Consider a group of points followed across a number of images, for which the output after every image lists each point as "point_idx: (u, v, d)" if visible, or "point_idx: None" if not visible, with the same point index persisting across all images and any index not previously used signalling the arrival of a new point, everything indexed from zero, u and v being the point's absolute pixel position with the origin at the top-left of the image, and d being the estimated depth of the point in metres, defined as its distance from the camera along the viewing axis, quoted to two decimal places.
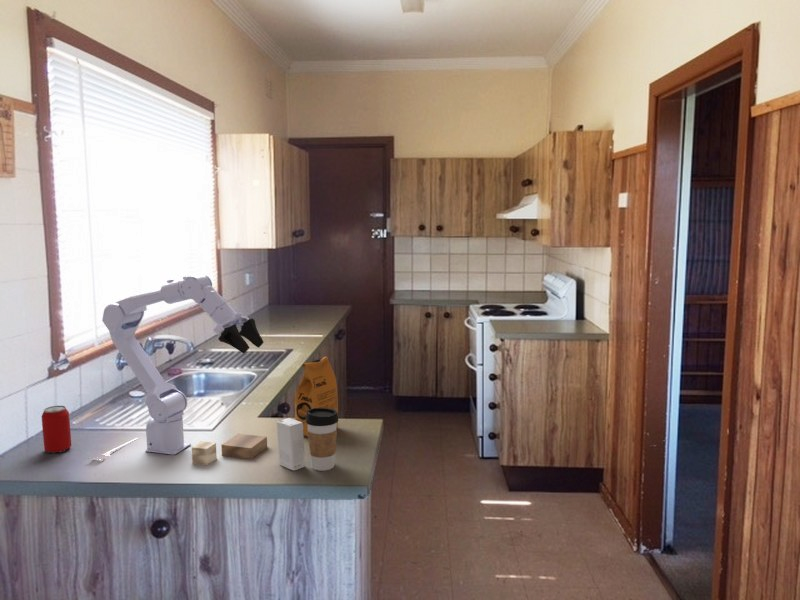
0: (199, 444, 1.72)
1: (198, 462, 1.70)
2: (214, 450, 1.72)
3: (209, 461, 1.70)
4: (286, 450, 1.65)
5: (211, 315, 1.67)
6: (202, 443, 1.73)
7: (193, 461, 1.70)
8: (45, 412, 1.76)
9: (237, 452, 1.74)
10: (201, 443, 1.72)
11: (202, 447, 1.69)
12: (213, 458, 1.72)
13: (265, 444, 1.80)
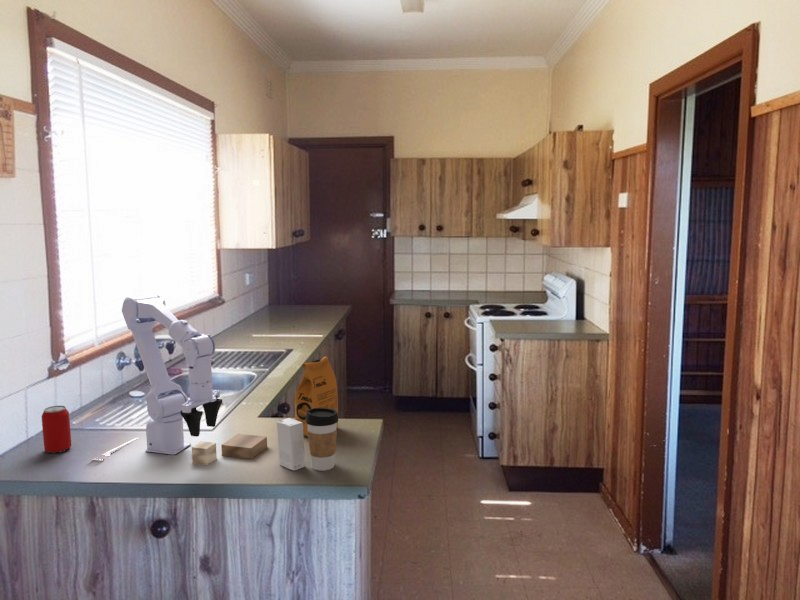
0: (199, 444, 1.72)
1: (198, 462, 1.70)
2: (214, 450, 1.72)
3: (209, 461, 1.70)
4: (286, 450, 1.65)
5: (191, 384, 1.66)
6: (202, 443, 1.73)
7: (193, 461, 1.70)
8: (45, 412, 1.76)
9: (237, 452, 1.74)
10: (201, 443, 1.72)
11: (202, 447, 1.69)
12: (213, 458, 1.72)
13: (265, 444, 1.80)
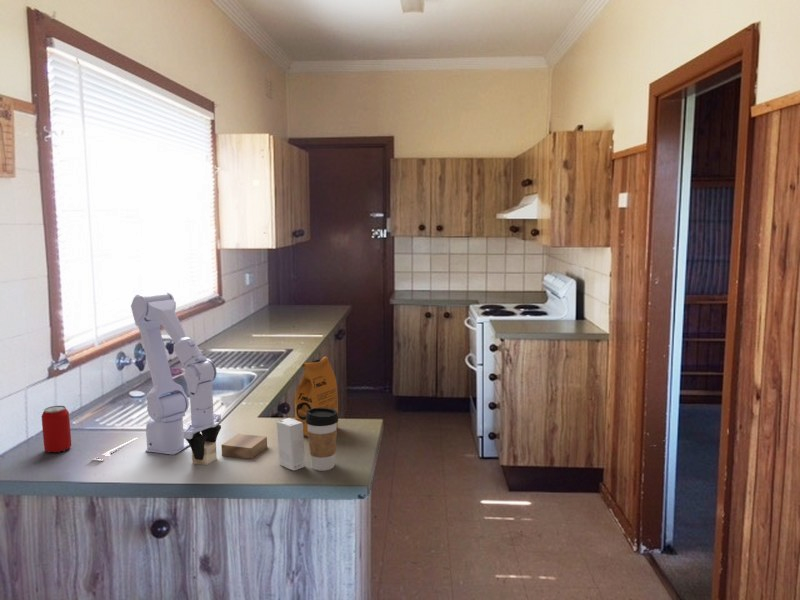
0: None
1: (198, 462, 1.70)
2: (214, 450, 1.72)
3: (209, 461, 1.70)
4: (286, 450, 1.65)
5: (192, 409, 1.67)
6: None
7: (193, 461, 1.70)
8: (45, 412, 1.76)
9: (237, 452, 1.74)
10: None
11: None
12: (213, 458, 1.72)
13: (265, 444, 1.80)
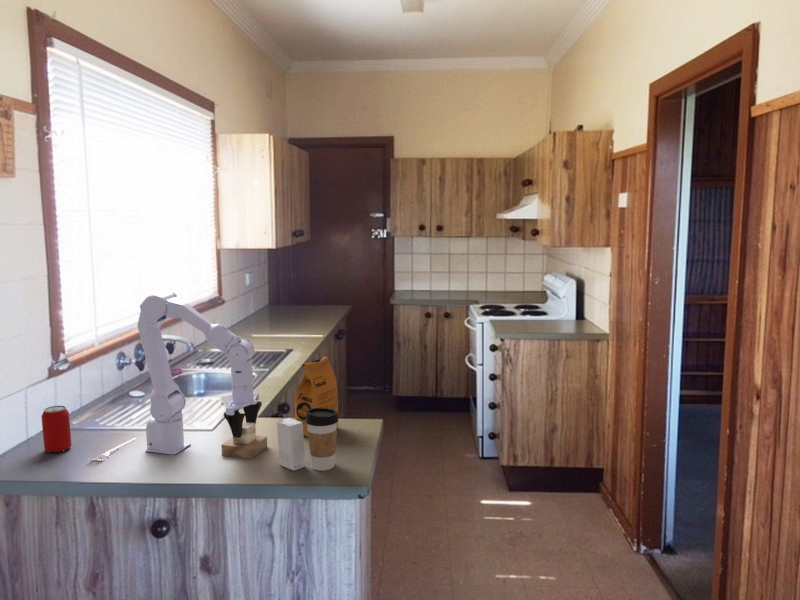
0: None
1: (239, 441, 1.76)
2: (254, 430, 1.78)
3: (249, 440, 1.76)
4: (286, 450, 1.65)
5: (233, 387, 1.73)
6: None
7: (234, 440, 1.76)
8: (45, 412, 1.76)
9: (237, 452, 1.74)
10: None
11: (243, 427, 1.76)
12: (253, 438, 1.78)
13: (265, 444, 1.80)
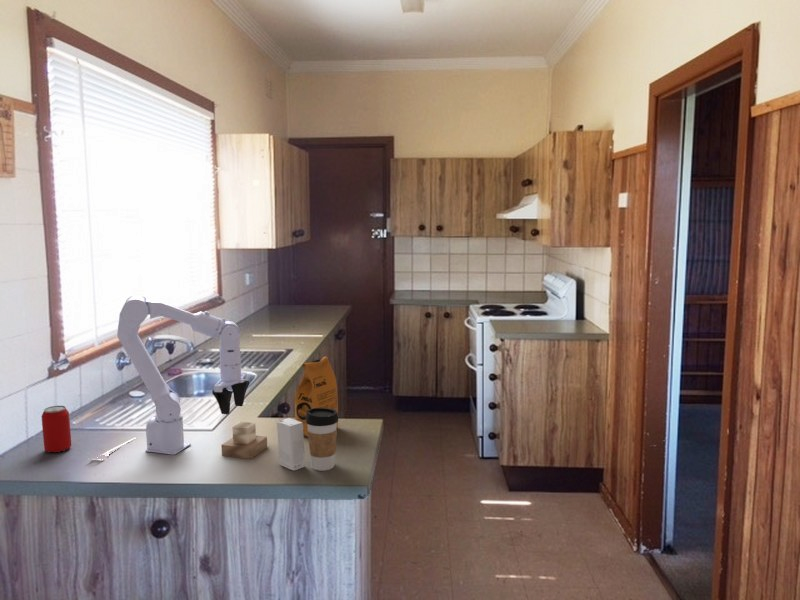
0: (239, 424, 1.78)
1: (239, 441, 1.76)
2: (254, 430, 1.78)
3: (249, 440, 1.76)
4: (286, 450, 1.65)
5: (222, 366, 1.81)
6: (242, 423, 1.79)
7: (234, 440, 1.76)
8: (45, 412, 1.76)
9: (237, 452, 1.74)
10: (241, 423, 1.78)
11: (243, 427, 1.76)
12: (253, 438, 1.78)
13: (265, 444, 1.80)
